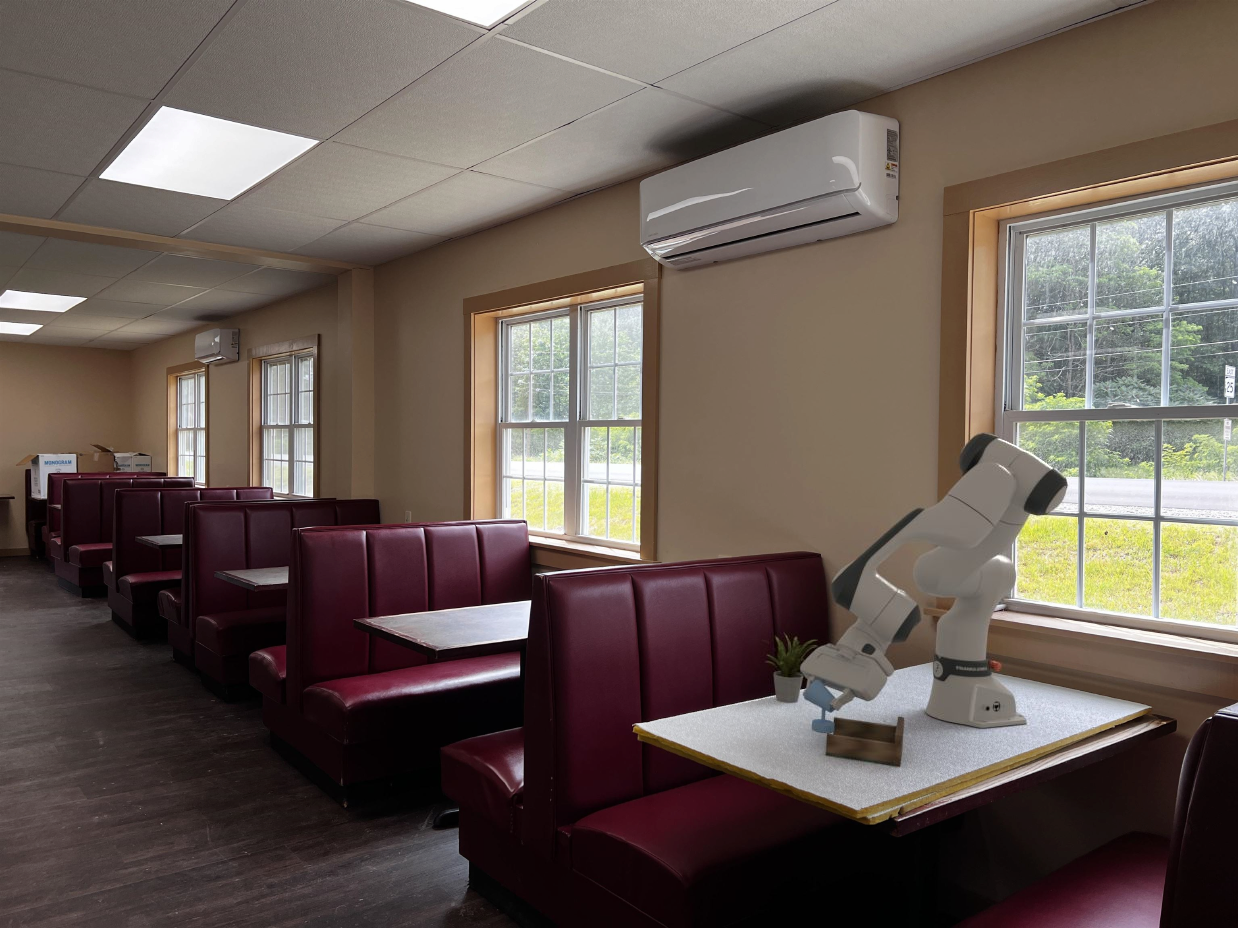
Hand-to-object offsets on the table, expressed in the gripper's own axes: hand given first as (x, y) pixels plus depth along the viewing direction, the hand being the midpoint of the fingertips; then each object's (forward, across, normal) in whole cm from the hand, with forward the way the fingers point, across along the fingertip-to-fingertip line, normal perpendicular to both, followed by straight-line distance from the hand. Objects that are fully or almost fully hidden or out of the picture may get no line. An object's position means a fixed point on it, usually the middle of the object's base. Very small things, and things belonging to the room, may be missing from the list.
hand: (819, 702), depth 179 cm
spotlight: (+4, 0, +5) cm, 6 cm away
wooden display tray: (+2, +7, +10) cm, 13 cm away
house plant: (-6, -29, +18) cm, 34 cm away
